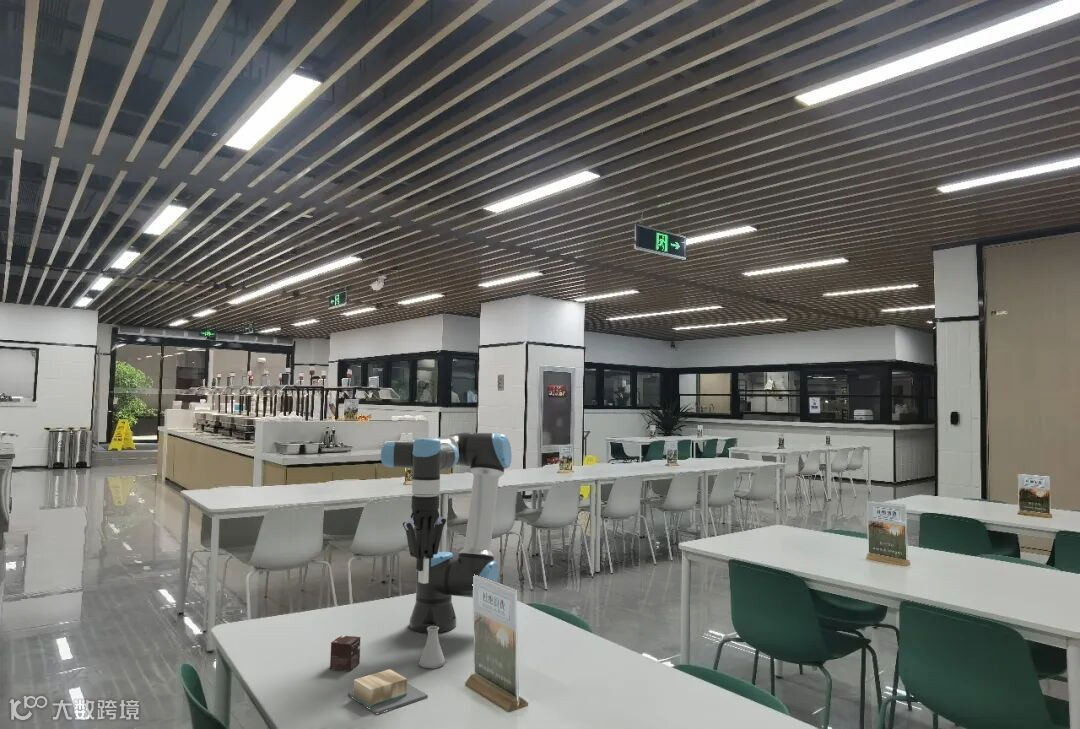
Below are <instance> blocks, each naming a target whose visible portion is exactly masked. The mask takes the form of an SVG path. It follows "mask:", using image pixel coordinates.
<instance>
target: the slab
mask: <svg viewBox="0 0 1080 729" xmlns="http://www.w3.org/2000/svg"><path fill="white" fill-rule="evenodd" d="M407 683H408V679H407V678H406V677H405V676H403V675H401V674H399V673H397V672H396V671H394V670H392V669H391V668H389V669H386V670H383V671H380V672H379V671H378V672H375V673H372V674H369V675H365V676H361V677H358V678H355V679H353V691H354V693H353V697H355V698H356V699H358V700H359V701H361V702H362V703H364V704H365V705H367V706H368V707H373V706H376V705H379V704H382V703H385V702H388V701H391V700H394V699H397V698H400V697H404V696H407Z"/></svg>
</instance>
